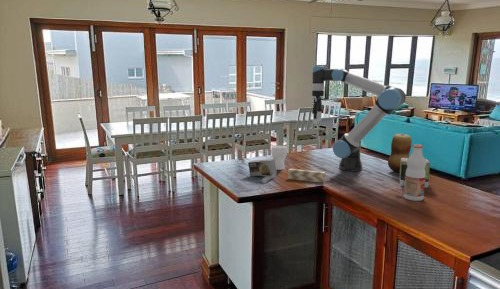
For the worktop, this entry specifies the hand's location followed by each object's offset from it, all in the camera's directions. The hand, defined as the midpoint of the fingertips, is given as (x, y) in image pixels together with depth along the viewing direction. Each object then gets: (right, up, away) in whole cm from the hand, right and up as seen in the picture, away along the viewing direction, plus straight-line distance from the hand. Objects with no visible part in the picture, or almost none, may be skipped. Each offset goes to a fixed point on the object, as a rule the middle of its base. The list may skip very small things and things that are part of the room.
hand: (317, 122), depth 251 cm
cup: (-25, -31, +7) cm, 40 cm away
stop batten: (-33, -36, -18) cm, 51 cm away
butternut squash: (+53, -33, -3) cm, 62 cm away
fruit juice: (+40, -43, -54) cm, 80 cm away
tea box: (+50, -38, -31) cm, 70 cm away
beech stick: (-10, -36, -21) cm, 43 cm away
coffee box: (-30, -28, -19) cm, 45 cm away
